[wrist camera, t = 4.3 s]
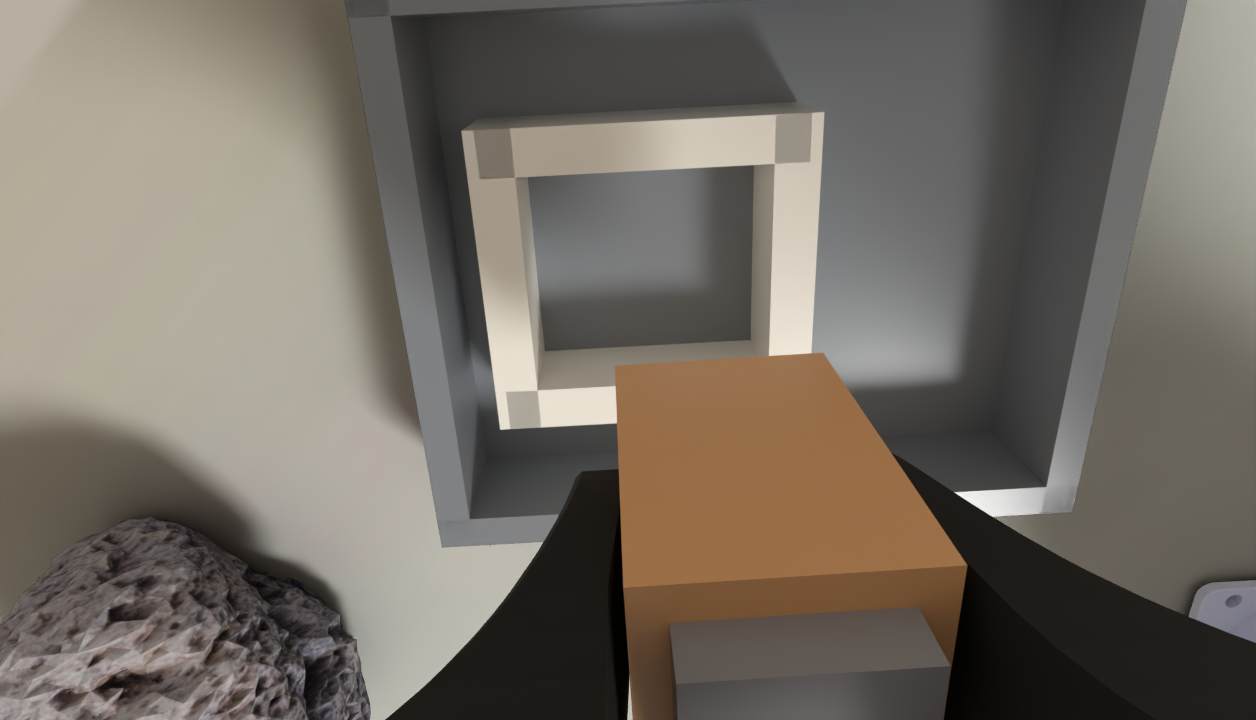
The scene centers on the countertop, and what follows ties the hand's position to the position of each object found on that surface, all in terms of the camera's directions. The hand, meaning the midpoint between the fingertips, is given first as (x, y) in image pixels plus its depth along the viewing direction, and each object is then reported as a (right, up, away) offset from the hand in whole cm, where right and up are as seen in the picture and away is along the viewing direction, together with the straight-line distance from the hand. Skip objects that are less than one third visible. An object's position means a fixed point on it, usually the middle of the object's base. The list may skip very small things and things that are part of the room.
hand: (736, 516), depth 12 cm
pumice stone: (-14, -6, +13) cm, 20 cm away
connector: (0, +1, +2) cm, 2 cm away
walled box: (+1, +5, +8) cm, 10 cm away
